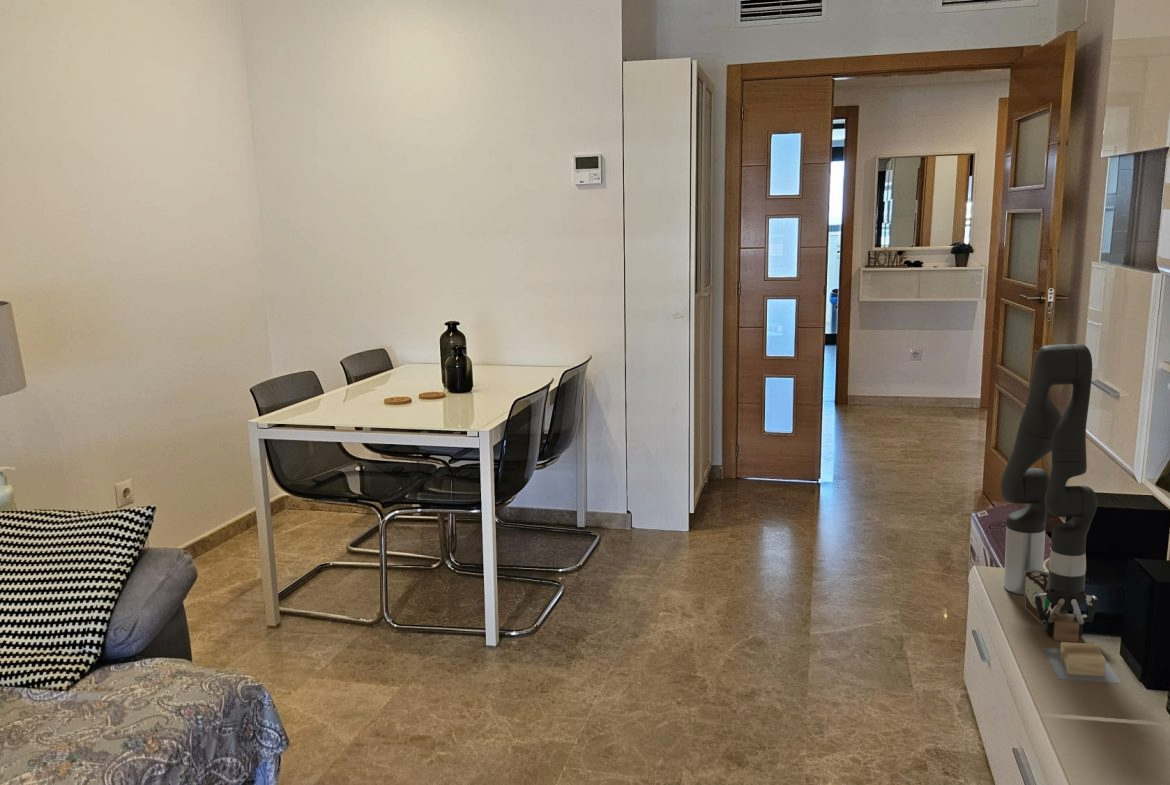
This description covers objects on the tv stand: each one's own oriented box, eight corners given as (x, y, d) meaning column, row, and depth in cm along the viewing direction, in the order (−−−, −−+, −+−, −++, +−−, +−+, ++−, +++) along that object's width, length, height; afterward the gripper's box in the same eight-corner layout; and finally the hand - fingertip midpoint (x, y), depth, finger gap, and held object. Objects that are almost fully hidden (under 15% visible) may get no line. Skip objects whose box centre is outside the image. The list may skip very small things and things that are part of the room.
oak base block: (1060, 658, 201) (1060, 642, 200) (1094, 660, 199) (1095, 643, 199) (1068, 674, 194) (1069, 657, 194) (1104, 676, 193) (1105, 659, 192)
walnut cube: (1049, 632, 214) (1050, 612, 213) (1072, 633, 213) (1073, 614, 212) (1054, 642, 209) (1055, 622, 208) (1078, 643, 208) (1079, 623, 207)
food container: (1071, 626, 217) (1073, 587, 215) (1045, 627, 217) (1047, 588, 215) (1046, 604, 229) (1048, 567, 227) (1022, 605, 229) (1023, 568, 227)
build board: (1042, 650, 206) (1042, 648, 206) (1100, 653, 203) (1100, 651, 203) (1058, 681, 193) (1058, 679, 193) (1120, 685, 190) (1121, 683, 190)
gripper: (1096, 563, 210) (1092, 630, 213) (1029, 561, 213) (1026, 627, 216) (1106, 576, 202) (1102, 645, 206) (1037, 573, 206) (1034, 641, 209)
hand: (1063, 635), depth 211 cm, fingers closed on walnut cube, 5 cm apart
